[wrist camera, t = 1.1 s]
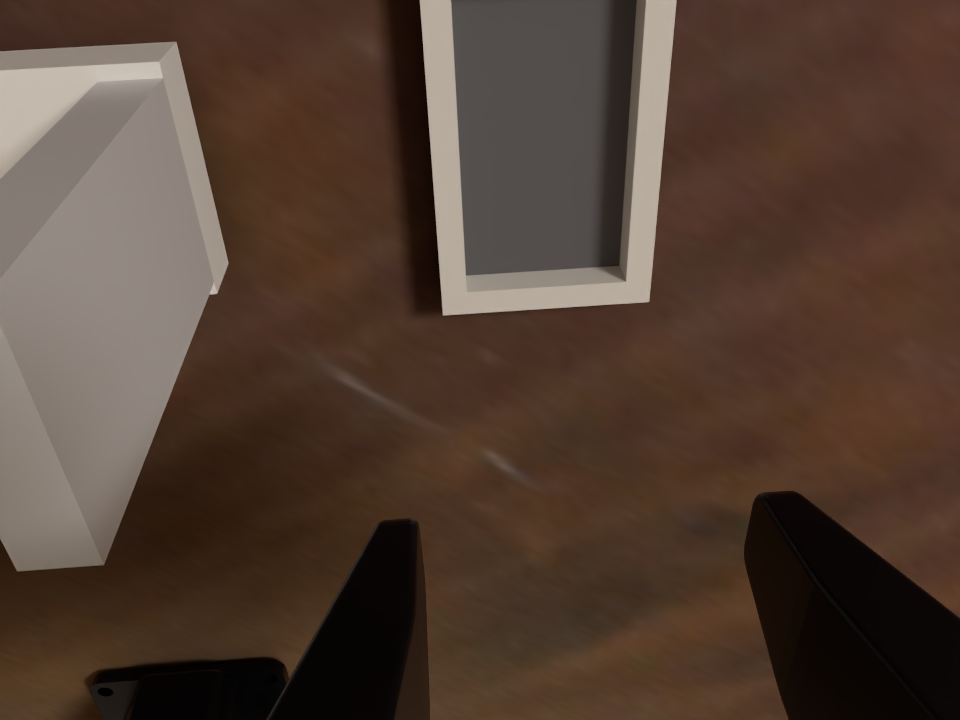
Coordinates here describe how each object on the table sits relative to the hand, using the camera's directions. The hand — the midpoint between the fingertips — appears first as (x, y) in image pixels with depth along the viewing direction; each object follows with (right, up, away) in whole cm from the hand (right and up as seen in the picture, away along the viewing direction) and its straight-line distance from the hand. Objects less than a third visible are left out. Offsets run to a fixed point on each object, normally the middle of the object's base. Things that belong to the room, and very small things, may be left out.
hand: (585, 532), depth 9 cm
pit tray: (0, +7, +10) cm, 12 cm away
